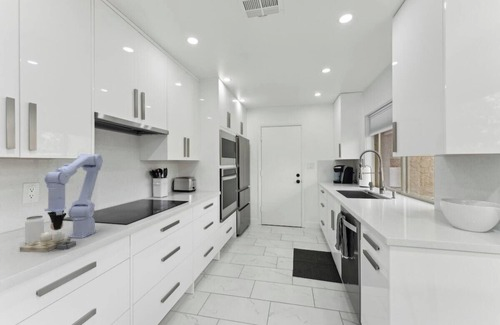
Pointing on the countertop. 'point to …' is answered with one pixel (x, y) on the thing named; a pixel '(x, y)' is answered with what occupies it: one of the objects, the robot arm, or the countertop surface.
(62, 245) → the egg stand
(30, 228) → the can
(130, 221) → the countertop surface
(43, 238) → the white egg
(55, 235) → the white egg
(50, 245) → the carton
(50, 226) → the brown egg
